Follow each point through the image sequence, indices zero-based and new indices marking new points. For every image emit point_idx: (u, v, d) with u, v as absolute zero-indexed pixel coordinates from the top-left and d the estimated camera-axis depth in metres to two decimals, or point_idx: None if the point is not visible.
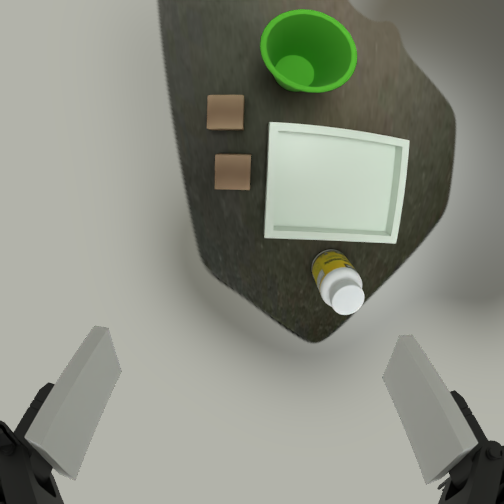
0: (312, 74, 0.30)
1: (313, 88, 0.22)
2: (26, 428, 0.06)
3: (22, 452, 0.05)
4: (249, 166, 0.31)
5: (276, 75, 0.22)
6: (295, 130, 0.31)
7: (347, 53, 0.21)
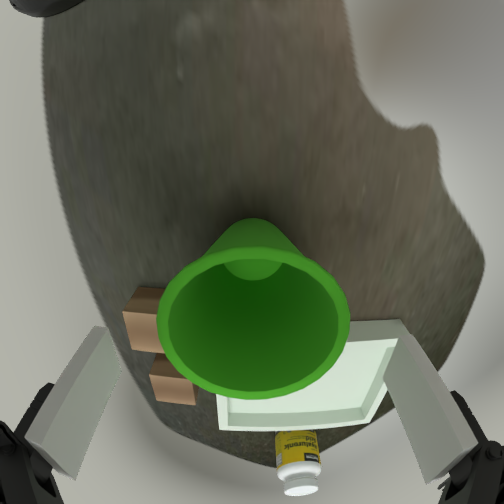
0: None
1: (256, 394, 0.14)
2: (26, 428, 0.06)
3: (22, 452, 0.05)
4: (191, 388, 0.24)
5: (193, 382, 0.14)
6: None
7: (332, 323, 0.13)
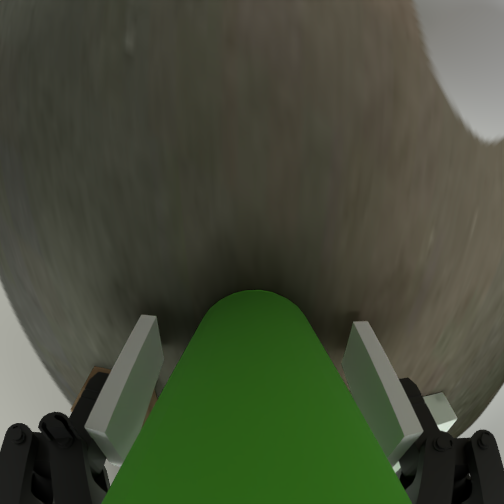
0: None
1: None
2: (80, 418, 0.07)
3: (81, 447, 0.06)
4: None
5: None
6: None
7: None
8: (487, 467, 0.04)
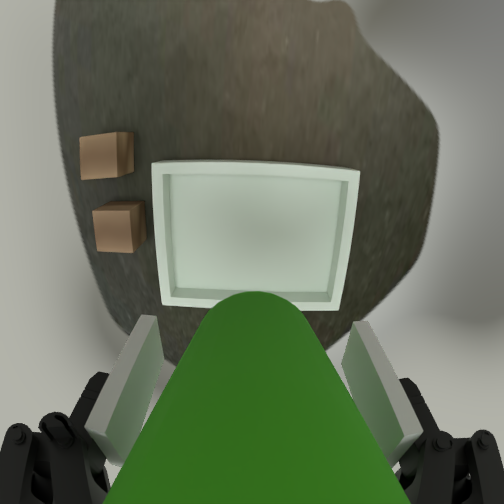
0: None
1: None
2: (80, 418, 0.07)
3: (81, 447, 0.06)
4: (129, 224, 0.24)
5: None
6: (184, 171, 0.23)
7: None
8: (487, 467, 0.04)
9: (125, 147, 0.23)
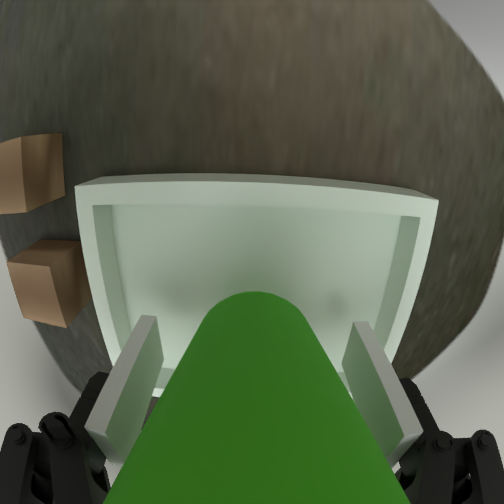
0: None
1: None
2: (80, 418, 0.07)
3: (81, 447, 0.06)
4: (53, 287, 0.13)
5: None
6: (127, 200, 0.12)
7: None
8: (487, 467, 0.04)
9: (43, 159, 0.12)
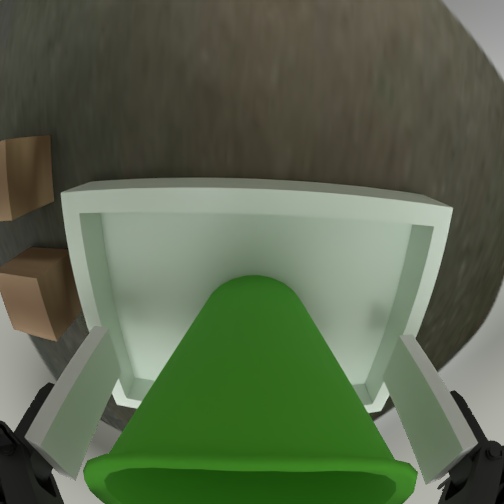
0: None
1: None
2: (26, 428, 0.06)
3: (22, 452, 0.05)
4: (41, 300, 0.12)
5: None
6: (115, 208, 0.11)
7: (380, 482, 0.06)
8: None
9: (30, 163, 0.11)
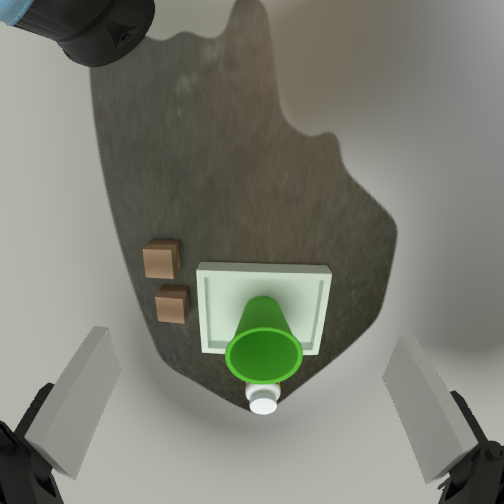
0: None
1: (265, 382, 0.33)
2: (26, 428, 0.06)
3: (22, 452, 0.05)
4: (182, 307, 0.39)
5: (238, 377, 0.33)
6: (218, 276, 0.38)
7: (296, 351, 0.32)
8: None
9: (175, 255, 0.38)
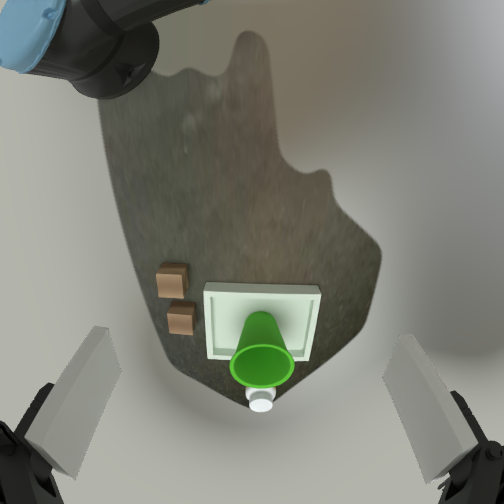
0: None
1: (262, 386, 0.39)
2: (26, 428, 0.06)
3: (22, 452, 0.05)
4: (191, 321, 0.44)
5: (240, 382, 0.39)
6: (223, 296, 0.43)
7: (289, 362, 0.38)
8: None
9: (185, 277, 0.44)
